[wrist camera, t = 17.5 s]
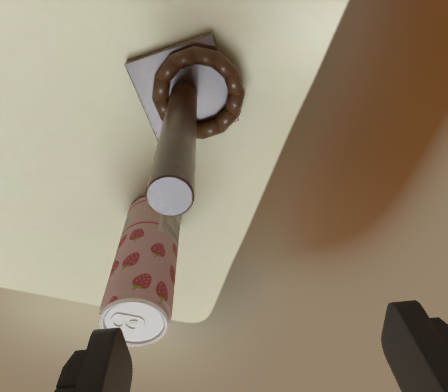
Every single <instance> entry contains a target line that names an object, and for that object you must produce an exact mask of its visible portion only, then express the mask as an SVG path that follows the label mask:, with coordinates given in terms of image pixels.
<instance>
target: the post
mask: <svg viewBox="0 0 448 392" xmlns="http://www.w3.org/2000/svg"><path fill="white" fill-rule="evenodd" d="M192 46H198V47H203V48H207V49H212V50H217V51H218V49H217V46H216V43H215V39H214V36H213V33H212V32H211V33H208V34H205V35H202V36H199V37H196V38H193V39H191V40H188V41H185V42H182V43H179V44H176V45H173V46H170V47H167V48H165V49H162V50H159V51H156V52H153V53H150V54H147V55H144V56H142V57H139V58H136V59H133V60H130V61H127V62H126V63H125V67H126V69H127V71H128V73H129V76H130V78H131V80H132V83H133V85H134V87H135V89H136V92H137V94H138V96H139V98H140V101H141V103H142V105H143V108H144V110H145V112H146V114H147V117H148V119H149V121H150V124H151V126H152V128H153V130H154V133H155V135H156V137H157V140H158V145H157V149H156V152H155V156H154V160H153V164H152V168H151V172H150V176H149V180H148V184H147V188H146V194H145V195H146V201H147V203H148V205H149V206H150V207H151V209H152V210H154V211H155V212H157V213H158V214H161V215H164V216H178V215H181V214H183V213H185V212H186V211H187V210H188V209H189V208H190V207H191V206H192V204H193V201H194V186H195V156H196V127H197V123H200V124H202V123H205V122H208V121H211V120H214V119H216V118H217V117H218V116H219V114H220V113H221V112H222V111H223V110H224V109H225V108H226V103H227V99H228V94H229V92H228V89H227V86H226V83H225V80H224V78H223V77H222V76H221V75H220V74H219V73H218V72H216V71H215V70H214V69H213V68H212V67H208V66H203V65H198V64H194V65H192V66H189V67H186V68H183V69H180V71H179V72H178V73H177V74H176V75H175V77H174V78H173V79H172V80H171V82H170V88H169V95H168V98H169V101H168V105H167V109H166V113H165V117H164V121H163V122H162V120H161V119H160V116H159V114H158V112H157V109H156V107H155V105H154V102H153V100H152V93H153V85H154V76H155V73H156V72H157V71H158V69H159V68H160V67H161V65H162V64H163V63H164V62H165V60H166V59H167V58H168V57H169V55H171V54H172V53H175V52H178V51H181V50H184V49H186V48H189V47H192ZM238 120H239V119H238V118H237V119H236V120H235V121H238ZM235 121H234V122H235Z"/></svg>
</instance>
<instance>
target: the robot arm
mask: <svg viewBox="0 0 448 392" xmlns="http://www.w3.org/2000/svg"><path fill="white" fill-rule="evenodd" d="M381 341H382V348H383V351H384V355H385V357H386V359H387V361H388V364H389V366H390V368H391V370H392V372H393V374H394V376H395V379H396V381H397V383H398V385H399V387H400V389H401V391H402V392H448V324H446V323H445V322H444V321H443V320H441V319H440V318H439V317H438V318H429V317H428V315H427V313H426V312H425V310H424V309H423V307H422V306H421V304H420V303H419V302H418V301H415V300H413V301H403V302H392V303H389V304H388V306H387V311H386V316H385V321H384V325H383V330H382V337H381ZM131 381H132V360H131V357H130V353H129V350H128V348H127V344H126V341H125V338H124V335H123V333H122V330H121V328H119V327H118V328H108V329H98V330H94V331H93V332H92V334H91V337H90V340H89V343H88V347H87V350H78V351H75V352H74V354H73V355H72V356H71V358H70V359H69V360H68V361H67V363H66V364H65V365H64V367H63V369H62V372H61V375H60V377H59V380H58V383H57V386H56V387H57V389H56V390H55V392H130V387H131Z"/></svg>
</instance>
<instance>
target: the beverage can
mask: <svg viewBox="0 0 448 392" xmlns="http://www.w3.org/2000/svg"><path fill="white" fill-rule="evenodd" d="M179 229H180V215H178V216H164V215H161V214H158V213H157V212H155V211H154V210H152V209H151V207H150V206H149V205H148V203H147V201H146V197H143V198H140V199H138V200H137V201H135V202H134V203H133V204H132V206H131V207H130V209H129V212H128V215H127V219H126V222H125V225H124V229H123V232H122V236H121V239H120V242H119V246H118V249H117V253H116V256H115V259H114V263H113V266H112V270H111V273H110V276H109V280H108V283H107V286H106V290H105V293H104V297H103V300H102V303H101V307H100V317H99V323H100V327H101V329H108V328H118V327H119V328H121V330H122V333H123V335H124V338H125V341H126V344H127V346H134V347H137V346H146V345H150V344H152V343H155V342H156V341H158V340H159V339H161V338H162V337H163V335H165V333H166V332H167V330H168V327H169V323H170V321H171V316H172V305H173V294H174V284H175V273H176V262H177V251H178V240H179Z"/></svg>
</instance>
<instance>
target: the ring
mask: <svg viewBox="0 0 448 392" xmlns="http://www.w3.org/2000/svg"><path fill="white" fill-rule="evenodd" d="M194 64H198V65H203V66H208V67H212V68H213V69H214V70H215V71H216V72H218V73H219V74H220V75H221V76H222V77H223V78H224V80H225V83H226V86H227V89H228V92H229V94H228V99H227V103H226V108H225V109H224V110H223V111H222V112H221V113H220V114H219V116H218V117H217V118H216V119H214V120H211V121H208V122H205V123H202V124H200V123H197V127H196V138H198V139H205V138H208V137H211V136H214V135H217V134H220V133H223V132H224V131H225V130H226V129H227V128H228V127H229V126H230V125H231V124H232V123H233V122H234V121H235V120H236V119H237V118H238V117H239V115H240V111H241V107H242V103H243V99H244V95H245V91H244V87H243V84H242V80H241V77H240V74H239V70H238V68H237V67H236V66H235V65H234V64H233V63H232V62H231V61H229V60H228V59H227V58H226V57H225V56H224V55H223V54H222V53H221V52H219V51H217V50H212V49H207V48H203V47H198V46H192V47H189V48H186V49H184V50H181V51H178V52H175V53H172V54H171V55H169V57H168V58H167V59H166V60H165V62H164V63H163V64H162V65H161V67H160V68H159V69H158V71H157V72H156V73H155V76H154V85H153V93H152V100H153V102H154V105H155V107H156V109H157V112H158V114H159V116H160V119H161V120H162V122H163V121H164V117H165V113H166V109H167V105H168V101H169V98H168V95H169V88H170V82H171V80H172V79H173V78H174V77H175V75H176V74H177V73H178V72H179V71H180V69H183V68H186V67H189V66H192V65H194Z"/></svg>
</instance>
